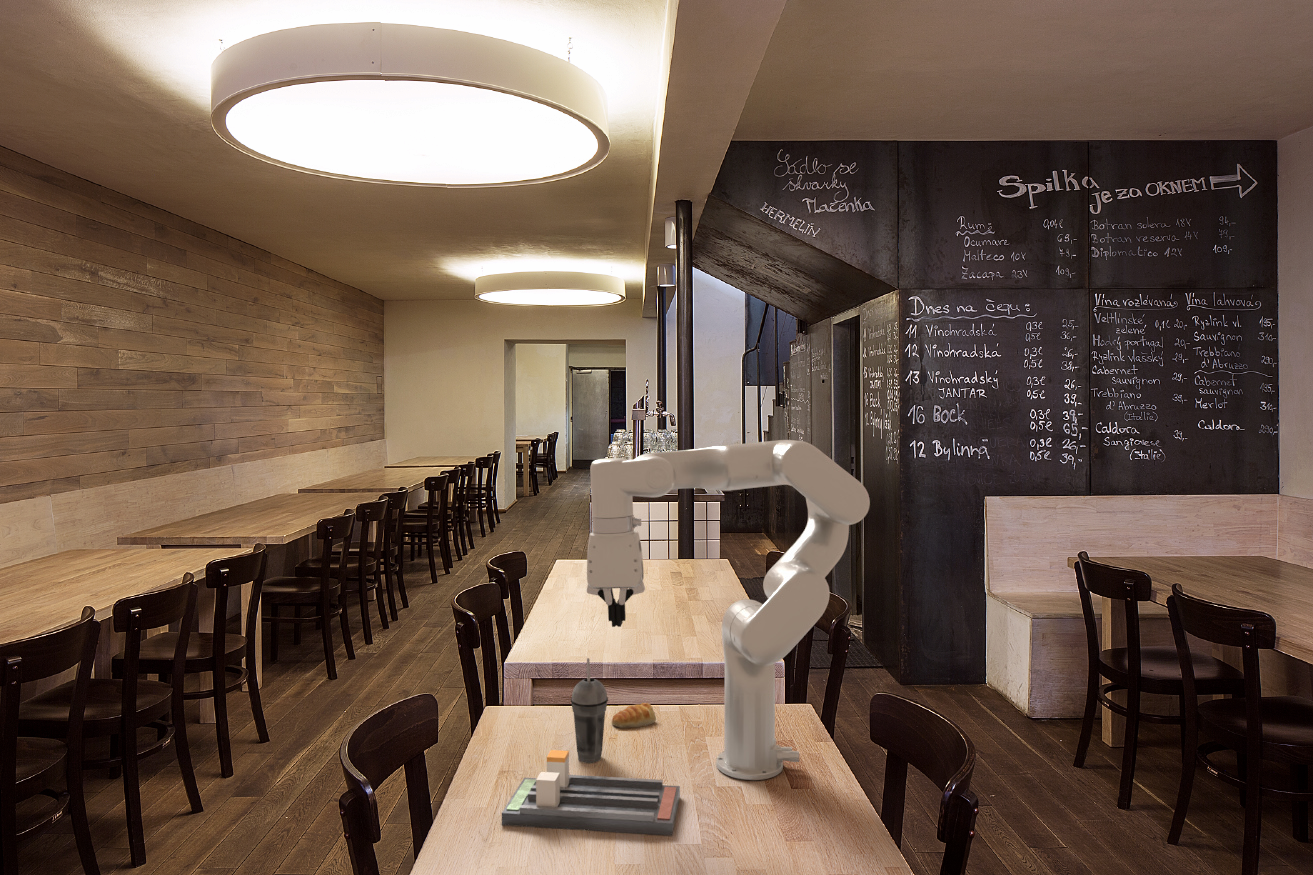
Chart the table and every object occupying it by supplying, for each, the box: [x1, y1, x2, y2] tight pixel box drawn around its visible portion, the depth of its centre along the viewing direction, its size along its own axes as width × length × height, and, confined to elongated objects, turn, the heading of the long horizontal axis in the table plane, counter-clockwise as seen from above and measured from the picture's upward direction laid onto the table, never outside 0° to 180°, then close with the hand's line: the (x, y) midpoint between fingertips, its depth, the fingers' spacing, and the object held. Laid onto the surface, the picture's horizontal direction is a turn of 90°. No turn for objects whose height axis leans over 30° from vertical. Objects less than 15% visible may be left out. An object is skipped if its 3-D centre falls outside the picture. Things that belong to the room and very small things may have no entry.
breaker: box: [536, 771, 560, 807], centre depth 134 cm, size 3×3×5 cm
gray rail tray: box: [501, 774, 681, 836], centre depth 136 cm, size 28×13×3 cm, turn 83°
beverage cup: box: [570, 657, 609, 764], centre depth 157 cm, size 7×7×20 cm
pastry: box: [611, 702, 657, 729], centre depth 176 cm, size 9×7×4 cm
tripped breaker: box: [546, 749, 570, 787], centre depth 141 cm, size 3×3×6 cm
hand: (617, 624), depth 148 cm, fingers closed
